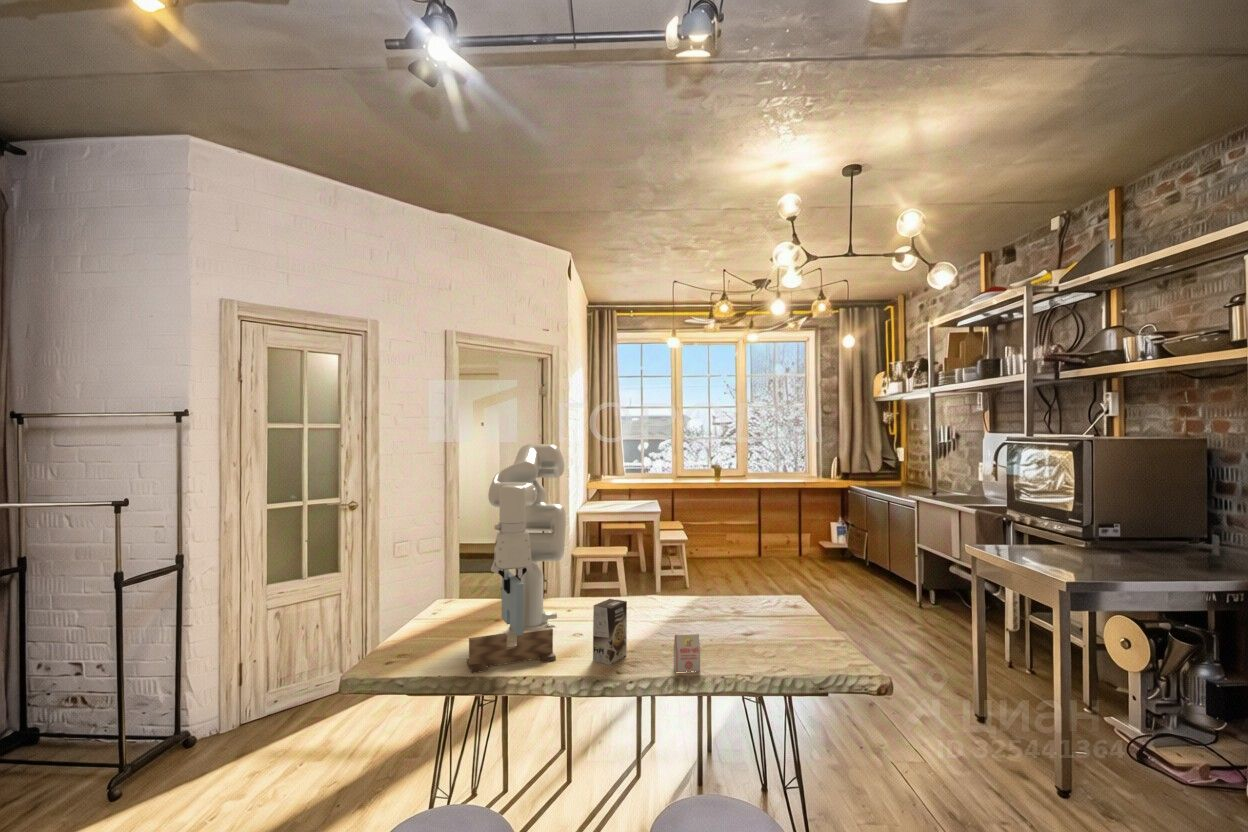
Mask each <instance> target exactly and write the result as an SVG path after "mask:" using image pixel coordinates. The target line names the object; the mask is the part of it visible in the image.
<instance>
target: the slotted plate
mask: <svg viewBox="0 0 1248 832" xmlns="http://www.w3.org/2000/svg"><path fill="white" fill-rule="evenodd" d="M508 577H509V579H510V593H509V594H507V593H506V591H505V590H504V578H503V577H502V576H501V618H502V620H503V621H504V622H505V624H506V625H509V629H510V630H511V631H512V633H513V634H514V635H515V636H516V637H517V636H519V635H523V601H524V584H523V583H522V582H521V581H520V580H519V579H518V578H517V577H515V574H513V573H512V572H511V571H510V570H509V572H508Z"/></svg>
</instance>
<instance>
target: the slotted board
mask: <svg viewBox="0 0 1248 832" xmlns="http://www.w3.org/2000/svg"><path fill="white" fill-rule="evenodd" d="M553 635H554V629H553V628H552V627H551V626H550V627H546V628H541V629H534V630H526V631H523V635H519V636H516V645H512V646H507V645H508V643H507V642H508V639H507V638H508V637H507V636H508V635H507V634H506V633H505V632H504V633H498V634H491V635H490V634H489V635H484V636H483V635H481V636H476V637H469V638H468V658H467V659H466V664H467V666H468V668H469V670H470V672H471V674H475V673H474V672H476V673H480V672H479V671H483V672H486V671H485V670H487V668H488V667H491V666H490V665H495V666H500V665H499V664H501V665H506V664H505V663H508V664H514V663H518V662H519V661H521V662H525V661H524V660H527V661H530V660H529V659H534V660H540V661H541V662H542V663H545V662H552V661H556V659H557V658H556V657H557V656H556V654H555V653H554V645H553V643H554V636H553ZM538 658H540V659H538ZM513 662H514V663H513ZM519 663H520V662H519ZM487 666H488V667H487Z"/></svg>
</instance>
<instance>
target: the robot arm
mask: <svg viewBox="0 0 1248 832" xmlns="http://www.w3.org/2000/svg"><path fill="white" fill-rule="evenodd" d="M564 471H565V461H564V457H563V455H562V452H561V449H560V448H559V447H558V446H557V445H555V444H548V443H546V444H543V443H541V444H538V443H534V444H533V443H532V444H525V445H523V446H521V447H520V448H519V450H518V452H517V455H516V456H515V460H514V463H513V464H512V465H509V466H508V467H505V468H504V469H502V470H499V471H498V472H497V473H496V474H495V475H494V477H493V478H492V481H491V483H490V486H489V489H488V496H487V497H488V501H489V504H490V505H492V506H493V507H494V508H499V511H498V512H499V515H498V516H499V519H498V524H494V526H493V529H494V531H498V532H497V533H496V537H495V543H494V553H493V554H494V555H493V562H492V565H491V568H490V571H491V572H493V573H495V574H498V575H499V576H500V577H501V578H502V577H503V578H504V590H505V591H506V593H507V594H509V593H510V579H509V577H508V572H509V571H510V570H513V569H514V576H515V577H517V578H518V579H519V580H520V581H521V582H522V583H523V584H524V601H523V631H526V630H534V629H541V628H548V626H549V624H548V623H549V622H548V621H549V620H556V619H557V618H558V614H557V612H551V611H548V612H545V611H544V572H543V570H542V568H541V567H540V565H539V564H538V563H537V562H559V561H561V560H562V559H563V557H564V553H565V548H566V547H565V541H566V528H567V527H566V525H567V524H566V523H567V522H566V521H567V516H566V509H565V507H564V506H563V505H562V504H559V503H546V501H547V500H546V499H547V491H546V489H545V487H543V485H542V484H541V483H540V481H539V480H537V478H538V479H539V478H543V479H544V478H545V479H547V478H554V479H555V478H560V477H561V476H562V475H563V474H564ZM528 531H529V532H528Z"/></svg>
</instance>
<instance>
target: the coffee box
mask: <svg viewBox="0 0 1248 832" xmlns="http://www.w3.org/2000/svg"><path fill="white" fill-rule="evenodd" d="M627 602H628V601H627V600H621V599H614V598H613V599H612V598H608V599H606V600H604V601H601V602H598V603H596V604H593V617H592V618H593V620H592V623H593V626H592V661H593V662H597V663H600V662H601V664H604V663H605V665H609V666H610V665H612V663H613V664H614V663H616V662H617V661H618V662H619V661H620V660H622V659H623V658H625V657H627V644H628V643H627V640H628V639H627V638H628V637H627V635H628V633H627V632H628V631H627V626H628V625H627V624H628V623H627V622H628V620H627V619H628V614H627V613H628V612H627V609H628V607H627V606H628V605H627V604H628V603H627ZM624 656H625V657H624ZM619 659H620V660H619Z"/></svg>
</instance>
